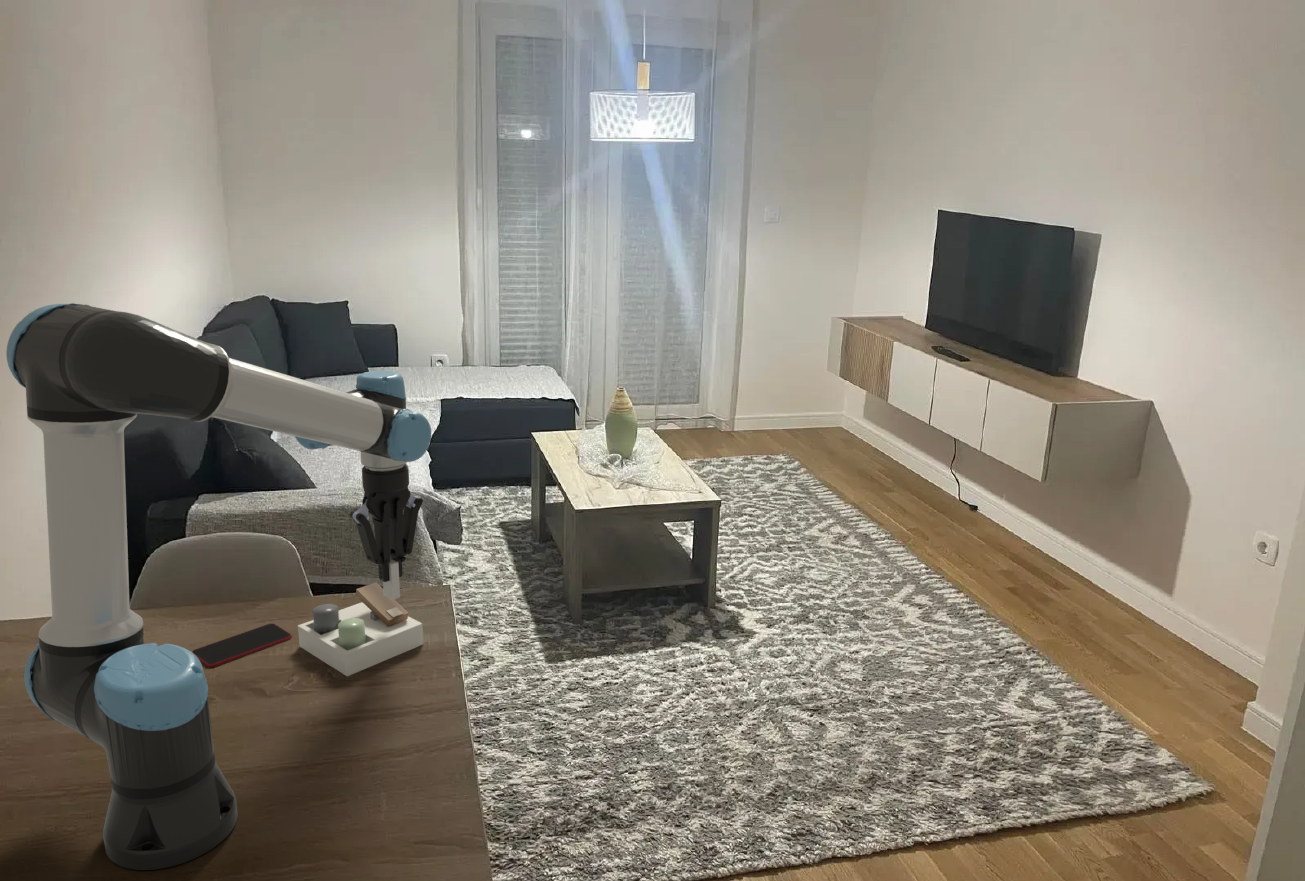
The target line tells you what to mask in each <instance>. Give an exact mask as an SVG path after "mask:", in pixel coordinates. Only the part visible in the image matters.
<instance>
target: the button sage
mask: <svg viewBox="0 0 1305 881" xmlns="http://www.w3.org/2000/svg"><path fill="white" fill-rule="evenodd" d="M338 632H339V644H340V647H342V648H344V649H345V650H347V651H348V650H350V649H353V648H355V647H358V646H360V645H363V644H365V643H366V638H365V626H364V621H363V620H362V619H359V618H349V619H345V620H343V621H341V622H340V623H339V624H338Z"/></svg>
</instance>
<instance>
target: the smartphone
mask: <svg viewBox="0 0 1305 881" xmlns="http://www.w3.org/2000/svg"><path fill="white" fill-rule="evenodd" d="M292 635H293V634H292V633H290V632H288V631H286V630H285V629H283V628H282V627H280V626H279V625H277V624H275V623H268V624H265V625H261V626H259V627H256V628H253V629H251V630H248V631H244V632H242V633H238V634H236V635H233V636H230V637H226V638H224V639H221V640H219V641H216V642H212V643H210V644H207V645H204V646H201V647H198V648H195V649H193V650H192V651H191V652H192V653H193V654H194V655H196V657H197V658H198V659H199V661H200V662H201V664H202V665H205V666H206V667H207V668H215V667H218V666H220V665H223V664H225V663H226V664H227V663H228V662H231V661H235V660H236V659H239V658H242V657H245V656H247V655H250V654H254V653H256V652H259V651H262V650H264V649H267V648H269V647H273V646H275V645H277V644H280V643H283V642H286V641H288V640H290V639H292V637H293V636H292Z"/></svg>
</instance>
